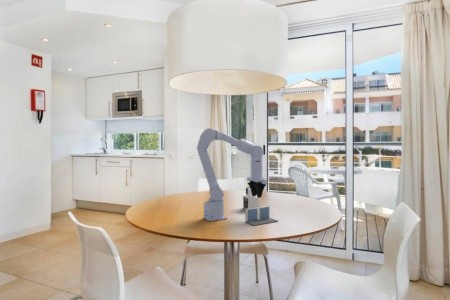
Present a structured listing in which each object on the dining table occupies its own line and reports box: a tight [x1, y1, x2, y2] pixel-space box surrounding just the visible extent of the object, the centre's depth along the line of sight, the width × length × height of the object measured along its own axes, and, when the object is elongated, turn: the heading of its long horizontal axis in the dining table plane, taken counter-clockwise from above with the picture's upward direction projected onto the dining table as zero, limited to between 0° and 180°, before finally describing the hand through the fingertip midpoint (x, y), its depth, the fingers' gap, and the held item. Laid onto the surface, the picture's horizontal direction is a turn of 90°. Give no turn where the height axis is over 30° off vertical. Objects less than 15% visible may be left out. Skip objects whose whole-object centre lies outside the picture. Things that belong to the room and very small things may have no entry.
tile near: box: [244, 207, 258, 223], centre depth 135 cm, size 6×2×6 cm, turn 119°
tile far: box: [257, 205, 271, 220], centre depth 138 cm, size 6×2×6 cm, turn 119°
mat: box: [245, 217, 279, 227], centre depth 132 cm, size 14×6×1 cm, turn 119°
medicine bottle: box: [242, 186, 261, 210], centre depth 160 cm, size 7×7×12 cm
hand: (256, 196), depth 143 cm, fingers open, 4 cm apart
